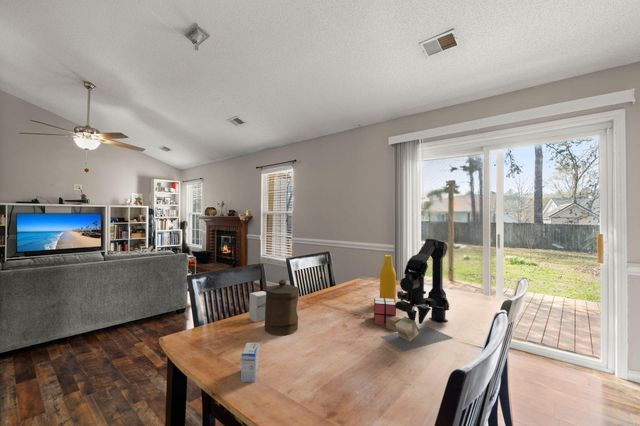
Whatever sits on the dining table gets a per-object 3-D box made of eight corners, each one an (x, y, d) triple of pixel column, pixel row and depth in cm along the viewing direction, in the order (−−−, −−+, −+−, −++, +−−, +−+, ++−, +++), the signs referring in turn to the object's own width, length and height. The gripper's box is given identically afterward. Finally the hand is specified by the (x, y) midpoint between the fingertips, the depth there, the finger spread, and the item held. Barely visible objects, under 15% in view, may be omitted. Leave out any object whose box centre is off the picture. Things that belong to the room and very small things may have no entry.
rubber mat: (427, 327, 132) (427, 326, 132) (453, 338, 119) (453, 337, 119) (380, 337, 119) (380, 336, 119) (403, 352, 106) (403, 351, 106)
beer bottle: (383, 302, 169) (383, 254, 170) (398, 305, 164) (398, 255, 164) (376, 305, 162) (377, 255, 162) (392, 309, 156) (392, 257, 157)
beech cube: (404, 316, 121) (394, 324, 119) (415, 321, 116) (405, 329, 113) (409, 328, 122) (399, 336, 120) (419, 333, 117) (409, 341, 114)
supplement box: (255, 322, 133) (256, 296, 133) (248, 318, 138) (249, 292, 139) (269, 319, 138) (270, 293, 138) (261, 315, 143) (262, 290, 143)
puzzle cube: (395, 326, 132) (396, 304, 132) (374, 324, 134) (374, 303, 134) (394, 318, 142) (394, 298, 142) (373, 317, 144) (374, 297, 144)
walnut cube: (392, 326, 132) (392, 315, 132) (401, 329, 128) (401, 318, 129) (386, 328, 129) (386, 317, 129) (395, 332, 125) (395, 321, 125)
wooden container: (304, 328, 127) (305, 280, 127) (278, 339, 116) (279, 285, 116) (283, 320, 137) (284, 275, 137) (257, 328, 126) (259, 279, 126)
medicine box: (245, 368, 93) (245, 342, 93) (258, 368, 93) (259, 342, 94) (240, 382, 85) (241, 353, 85) (255, 382, 86) (256, 353, 86)
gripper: (418, 282, 132) (417, 315, 131) (387, 285, 123) (386, 321, 123) (437, 287, 122) (437, 324, 122) (405, 291, 114) (404, 330, 113)
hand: (416, 324), depth 120 cm, fingers open, 4 cm apart
